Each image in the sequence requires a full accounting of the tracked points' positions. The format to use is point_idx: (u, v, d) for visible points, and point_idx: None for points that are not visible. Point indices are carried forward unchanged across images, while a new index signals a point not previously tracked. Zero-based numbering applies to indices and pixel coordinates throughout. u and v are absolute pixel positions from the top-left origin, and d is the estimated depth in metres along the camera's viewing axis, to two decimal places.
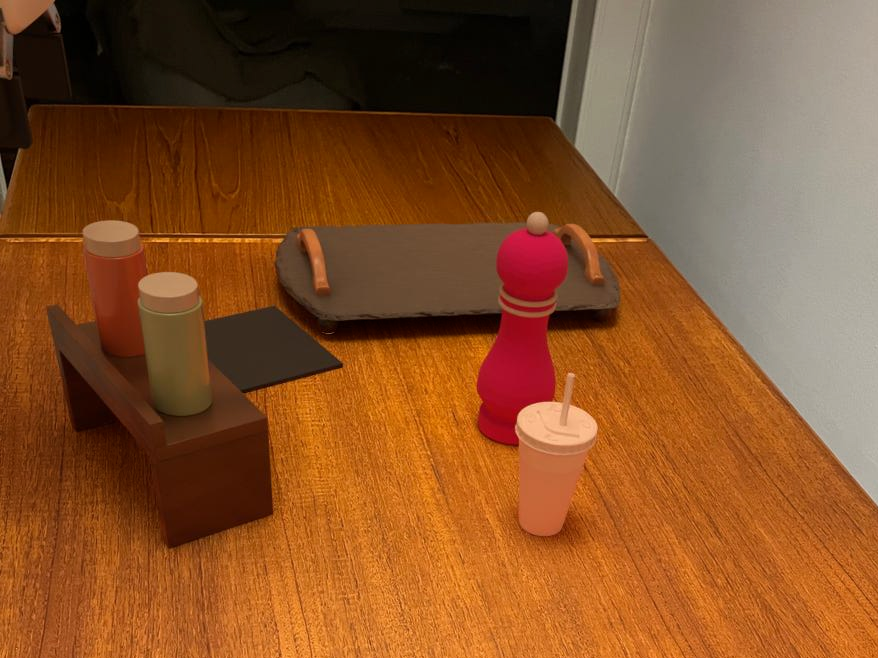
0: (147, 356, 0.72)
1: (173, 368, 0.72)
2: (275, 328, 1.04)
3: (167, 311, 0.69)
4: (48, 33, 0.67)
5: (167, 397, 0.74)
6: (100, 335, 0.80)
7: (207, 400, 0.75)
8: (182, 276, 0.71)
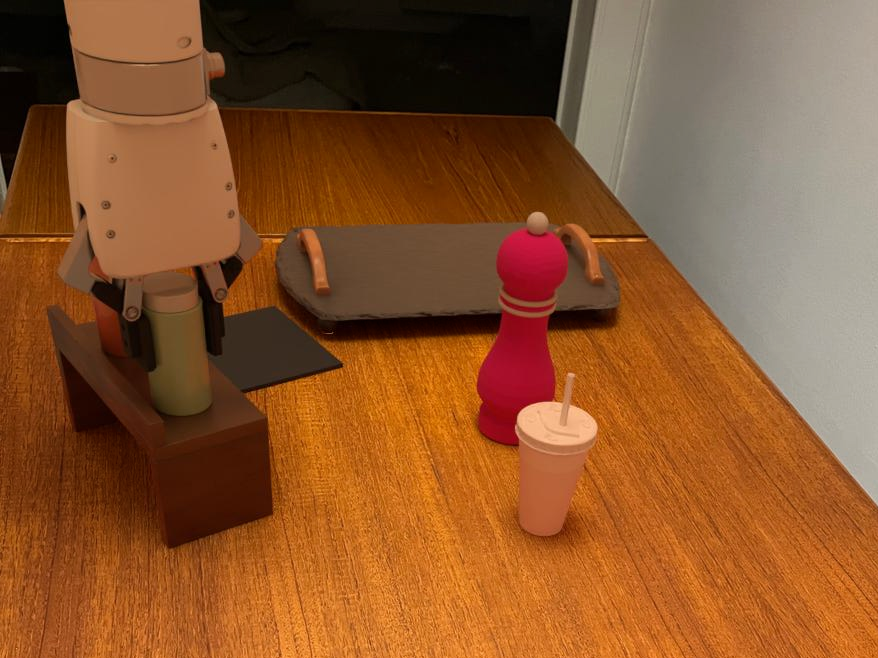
0: None
1: (173, 368, 0.72)
2: (275, 328, 1.04)
3: (167, 311, 0.69)
4: (211, 300, 0.72)
5: (167, 397, 0.74)
6: (100, 335, 0.80)
7: (207, 400, 0.75)
8: (182, 276, 0.71)
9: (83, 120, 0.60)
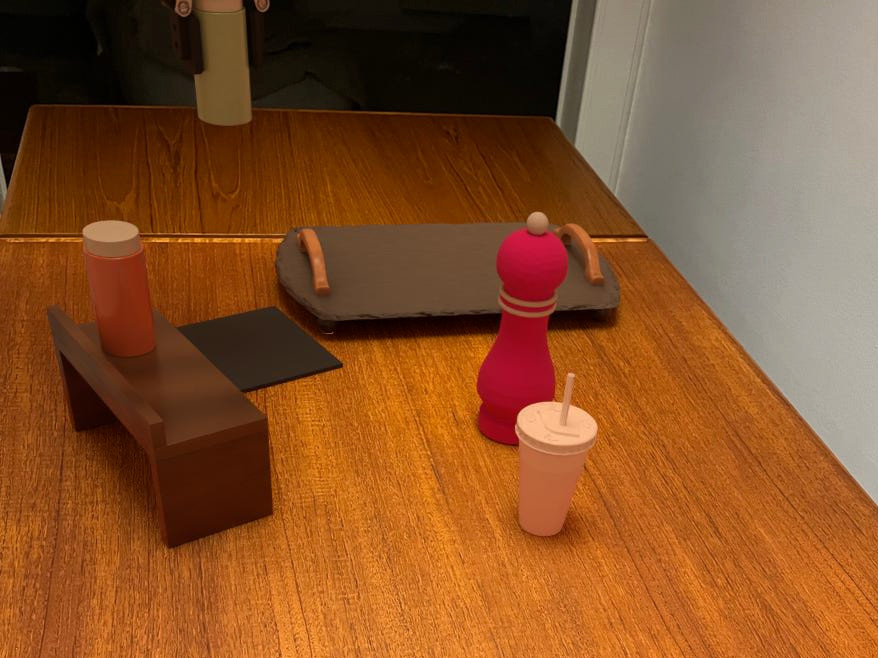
0: None
1: (219, 72, 0.79)
2: (275, 328, 1.04)
3: (215, 10, 0.77)
4: (253, 10, 0.79)
5: (212, 104, 0.81)
6: (100, 335, 0.80)
7: (248, 113, 0.83)
8: None
9: None
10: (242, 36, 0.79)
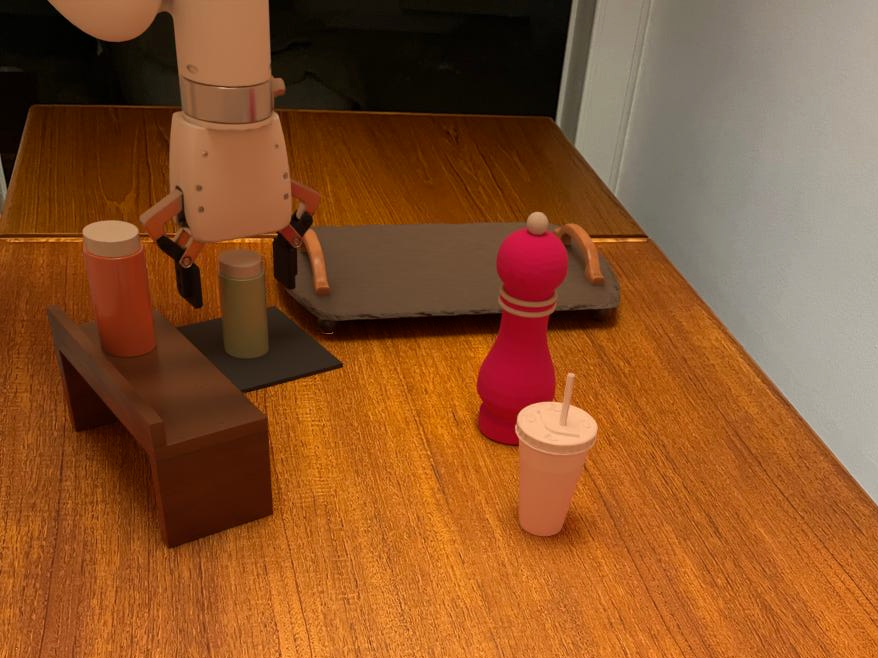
0: (223, 312, 0.96)
1: (243, 321, 0.96)
2: (275, 328, 1.04)
3: (240, 277, 0.93)
4: (289, 246, 0.96)
5: (236, 343, 0.98)
6: (100, 335, 0.80)
7: (266, 347, 0.99)
8: (250, 252, 0.95)
9: (185, 126, 0.83)
10: (262, 293, 0.95)
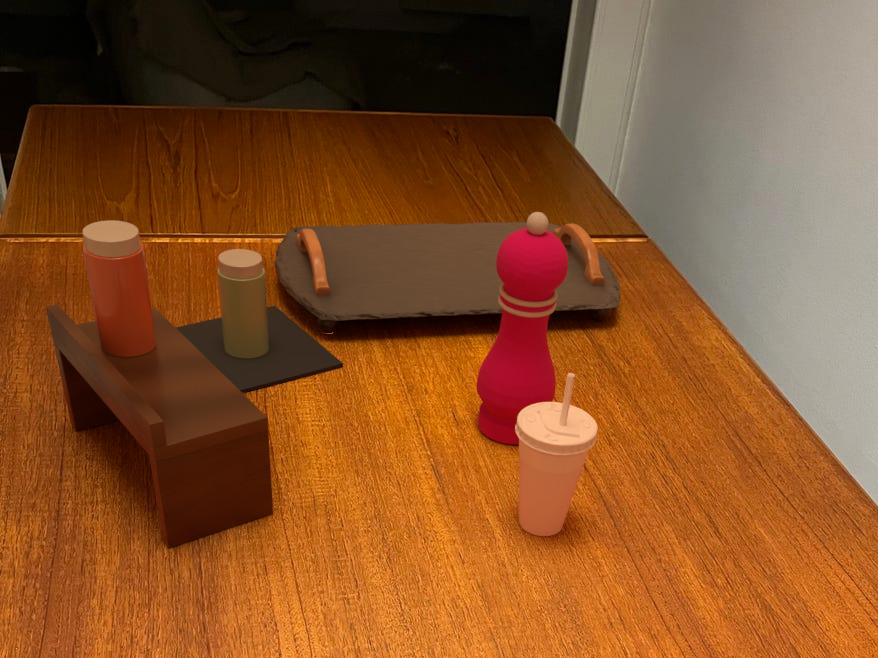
0: (223, 312, 0.96)
1: (243, 321, 0.96)
2: (275, 328, 1.04)
3: (240, 277, 0.93)
4: None
5: (236, 343, 0.98)
6: (100, 335, 0.80)
7: (266, 347, 0.99)
8: (250, 252, 0.95)
9: None
10: (262, 293, 0.95)
